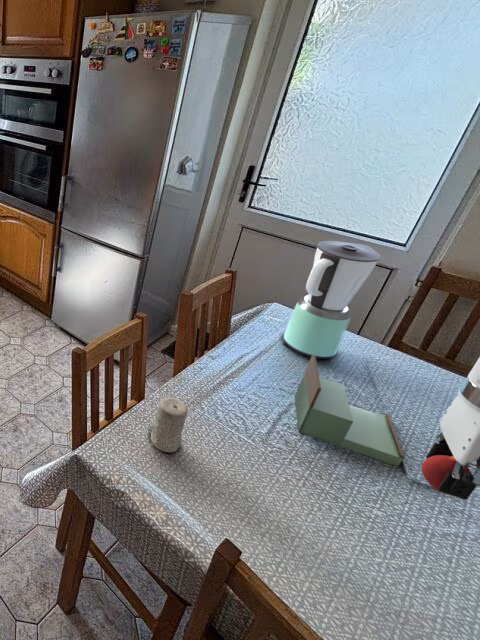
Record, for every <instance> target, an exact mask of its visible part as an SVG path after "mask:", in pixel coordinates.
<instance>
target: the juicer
mask: <svg viewBox="0 0 480 640" xmlns="http://www.w3.org/2000/svg"><path fill="white" fill-rule="evenodd" d="M380 260H381V255H380V254H379V252H377V251H376V250H375V249H373V248H372V247H371V246H369V245H366V244H359V243H353V242H347V241H337V240H322V241H319V242H317V244H316V250H315V254H314V259H313V264H312V268H311V270H310V273H309V275H308V278H307V281H306V284H305V291H306V292H307V293H308V294H307V295H304V296H303V297H301V298H299V299H298V301H297V302H296V304H295V306H294V308H293V311H292V313H291V315H290V318H289V321H288V324H287V326H286V328H285V332H284V334H283V342H282V344H283V343H284V344H285V345H288V346H287V347H289V348H290V349H291V350H293V351H294V352H296V353H298V354H300V355H303V356H306V358H307V359H308V360H309V361H310V359H311V357H312V355H315V357H316V359H317V360H326V359H331V358H333V357H334V356H336V354H337V352H338V349H339V347H340V345H341V342H342V340H343V338H344V336H345V334H346V331H347V329H348V327H349V324H350V322H351V319H352V313H351V310H350V308H349V307H348V305H350V302H351V301H352V300H353V298H354V297H355V296H356V295H357V293H358V292H359V290H360V289H361V287H362V286H363V285H364V283H365V282H366V280H367V279H368V278H369V276H370V275H371V274H372V272H373V271H374V269H375V267H376V265H377V264H378V261H380ZM285 345H284V346H285Z"/></svg>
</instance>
